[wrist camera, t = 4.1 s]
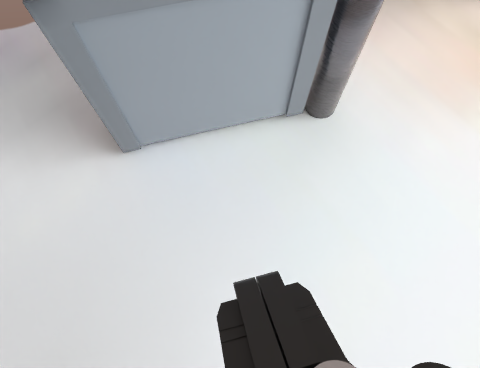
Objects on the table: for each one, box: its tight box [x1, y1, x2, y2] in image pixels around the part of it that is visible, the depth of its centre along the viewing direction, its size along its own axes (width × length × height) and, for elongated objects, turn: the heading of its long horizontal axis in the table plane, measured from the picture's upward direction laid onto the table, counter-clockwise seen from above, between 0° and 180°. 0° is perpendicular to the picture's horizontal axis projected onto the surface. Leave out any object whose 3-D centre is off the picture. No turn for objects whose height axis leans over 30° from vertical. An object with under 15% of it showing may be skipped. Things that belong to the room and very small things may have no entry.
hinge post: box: [305, 0, 384, 118], centre depth 26 cm, size 3×3×18 cm
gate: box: [23, 0, 337, 153], centre depth 26 cm, size 17×2×16 cm, turn 104°
